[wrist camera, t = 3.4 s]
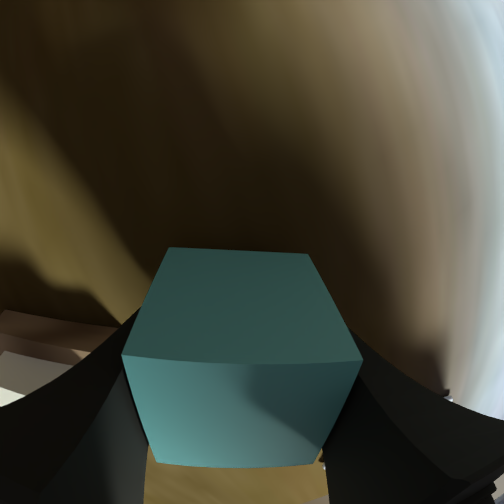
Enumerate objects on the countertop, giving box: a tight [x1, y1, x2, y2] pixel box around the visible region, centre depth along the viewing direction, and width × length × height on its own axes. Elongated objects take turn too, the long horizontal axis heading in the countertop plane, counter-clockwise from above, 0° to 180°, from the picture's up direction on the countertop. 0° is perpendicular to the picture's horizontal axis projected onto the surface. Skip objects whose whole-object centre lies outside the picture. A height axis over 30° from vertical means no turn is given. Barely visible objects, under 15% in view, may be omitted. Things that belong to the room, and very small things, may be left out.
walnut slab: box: [0, 309, 118, 366], centre depth 14 cm, size 8×8×2 cm
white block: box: [0, 351, 73, 407], centre depth 11 cm, size 6×6×2 cm
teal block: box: [121, 247, 363, 468], centre depth 8 cm, size 4×4×5 cm
